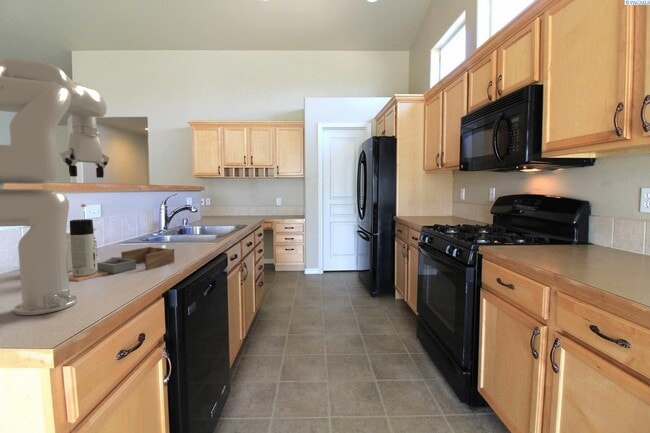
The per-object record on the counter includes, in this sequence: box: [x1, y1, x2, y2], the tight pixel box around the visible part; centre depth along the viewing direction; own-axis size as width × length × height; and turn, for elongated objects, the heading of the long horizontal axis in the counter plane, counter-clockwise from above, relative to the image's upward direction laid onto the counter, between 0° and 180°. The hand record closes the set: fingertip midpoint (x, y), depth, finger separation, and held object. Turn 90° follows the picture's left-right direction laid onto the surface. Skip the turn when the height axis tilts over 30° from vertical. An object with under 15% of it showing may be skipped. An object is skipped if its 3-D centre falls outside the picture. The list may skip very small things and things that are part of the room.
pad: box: [69, 270, 109, 282], centre depth 112 cm, size 10×10×1 cm
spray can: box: [69, 218, 97, 277], centre depth 111 cm, size 7×7×20 cm
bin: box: [96, 258, 137, 275], centre depth 120 cm, size 9×9×4 cm
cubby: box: [120, 246, 175, 271], centre depth 130 cm, size 14×13×6 cm
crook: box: [105, 256, 122, 261], centre depth 136 cm, size 14×6×1 cm, turn 100°
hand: (87, 177), depth 121 cm, fingers open, 9 cm apart
